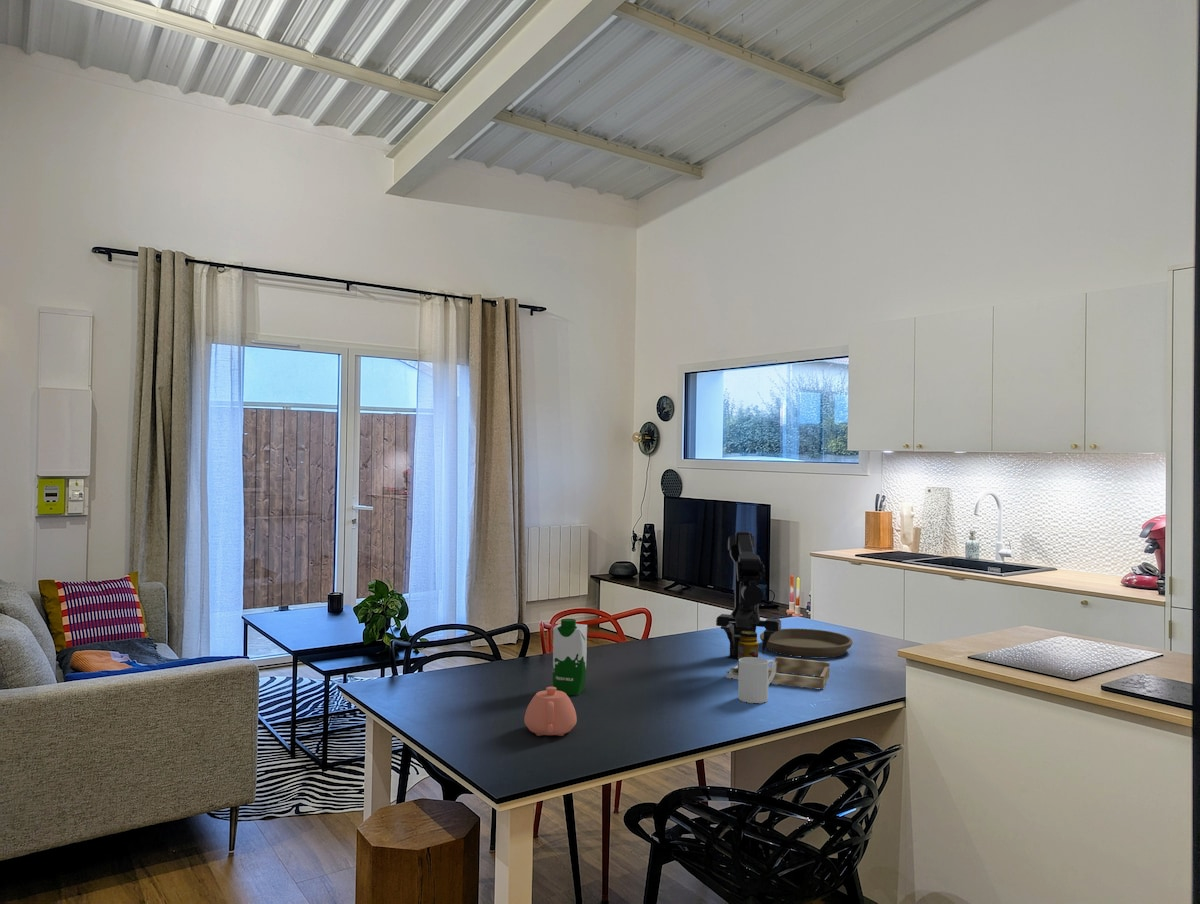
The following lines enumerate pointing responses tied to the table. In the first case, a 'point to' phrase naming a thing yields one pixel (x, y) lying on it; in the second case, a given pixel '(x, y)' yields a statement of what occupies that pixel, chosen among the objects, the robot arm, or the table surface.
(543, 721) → the sugar bowl
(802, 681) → the pine frame
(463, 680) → the table surface
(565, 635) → the milk carton
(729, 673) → the grey mat
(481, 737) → the table surface
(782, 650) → the plant saucer
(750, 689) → the mug
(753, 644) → the condiment
